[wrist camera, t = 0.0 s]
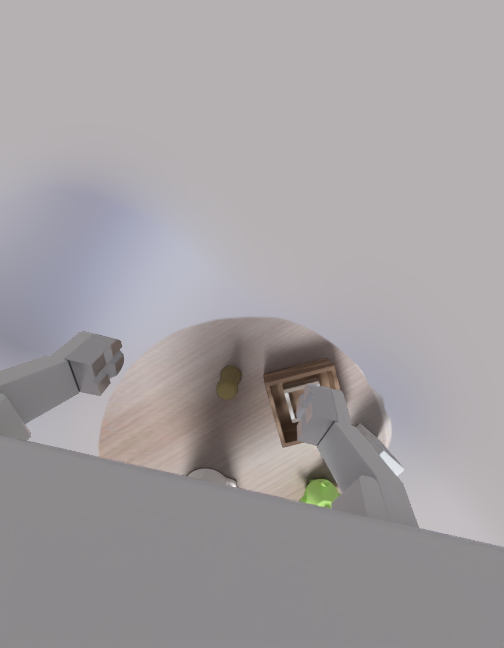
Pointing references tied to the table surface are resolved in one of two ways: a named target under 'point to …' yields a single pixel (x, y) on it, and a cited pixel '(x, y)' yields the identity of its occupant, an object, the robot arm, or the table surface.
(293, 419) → the walled box
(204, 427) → the table surface
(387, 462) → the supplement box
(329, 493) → the teapot
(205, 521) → the robot arm
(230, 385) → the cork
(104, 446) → the table surface
